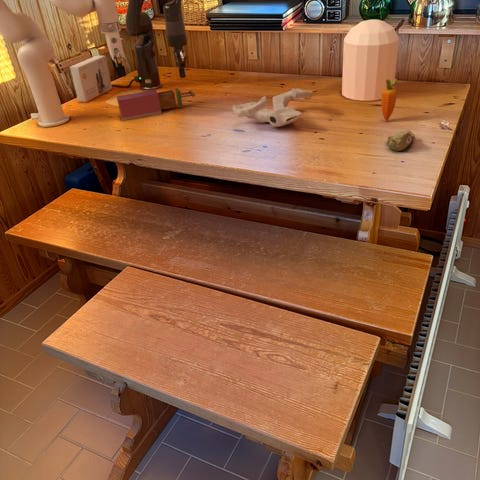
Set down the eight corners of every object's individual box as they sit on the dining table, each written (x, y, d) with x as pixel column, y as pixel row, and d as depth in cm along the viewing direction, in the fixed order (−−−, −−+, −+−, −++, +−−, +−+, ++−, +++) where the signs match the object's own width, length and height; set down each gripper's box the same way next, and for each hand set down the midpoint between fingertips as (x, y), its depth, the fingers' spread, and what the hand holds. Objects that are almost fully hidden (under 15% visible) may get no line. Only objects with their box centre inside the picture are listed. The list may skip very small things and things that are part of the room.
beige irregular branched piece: (230, 133, 167) (227, 101, 161) (244, 110, 188) (241, 81, 182) (308, 133, 161) (308, 99, 155) (313, 109, 182) (314, 78, 176)
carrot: (394, 118, 167) (398, 76, 158) (393, 123, 163) (397, 80, 154) (379, 117, 168) (383, 75, 160) (378, 122, 165) (382, 80, 156)
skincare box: (87, 102, 214) (77, 67, 204) (78, 102, 215) (68, 66, 206) (113, 88, 229) (105, 54, 220) (104, 88, 231) (96, 54, 222)
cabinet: (158, 108, 198) (155, 89, 193) (161, 113, 193) (157, 93, 188) (120, 116, 194) (116, 96, 190) (122, 120, 190) (118, 100, 185)
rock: (408, 140, 153) (379, 139, 152) (414, 122, 149) (384, 120, 148) (421, 154, 144) (391, 153, 143) (428, 135, 140) (396, 133, 139)
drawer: (193, 100, 201) (191, 85, 197) (196, 104, 197) (194, 88, 193) (145, 109, 196) (142, 94, 192) (147, 113, 192) (144, 97, 188)
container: (362, 104, 181) (368, 27, 165) (331, 91, 197) (333, 20, 182) (404, 93, 188) (413, 18, 172) (371, 81, 204) (376, 12, 188)
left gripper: (123, 29, 167) (133, 77, 177) (117, 22, 181) (127, 67, 191) (102, 32, 166) (113, 80, 175) (98, 25, 179) (109, 70, 189)
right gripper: (189, 34, 177) (195, 79, 187) (181, 28, 188) (187, 72, 198) (170, 37, 176) (177, 83, 185) (163, 31, 186) (170, 75, 196)
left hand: (120, 73), depth 183 cm, fingers open, 9 cm apart
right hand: (182, 77), depth 192 cm, fingers closed
